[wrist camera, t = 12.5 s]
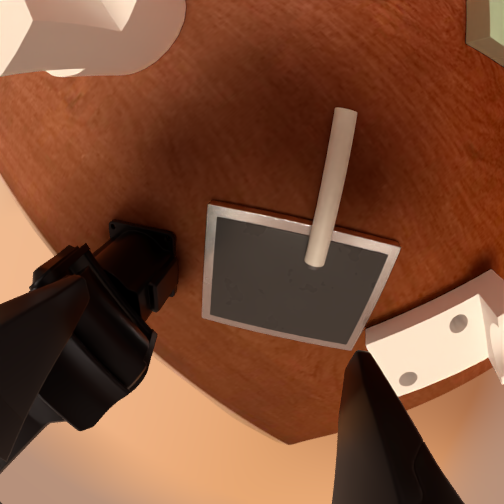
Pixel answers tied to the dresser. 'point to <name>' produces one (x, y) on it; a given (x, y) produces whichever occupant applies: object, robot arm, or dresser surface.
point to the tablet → (290, 276)
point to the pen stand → (486, 28)
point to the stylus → (331, 186)
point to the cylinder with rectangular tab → (86, 35)
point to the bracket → (442, 336)
